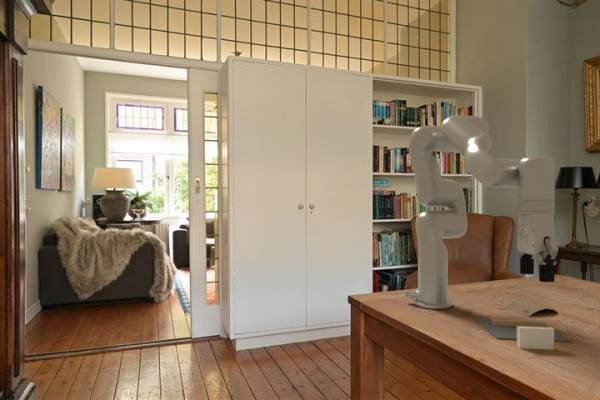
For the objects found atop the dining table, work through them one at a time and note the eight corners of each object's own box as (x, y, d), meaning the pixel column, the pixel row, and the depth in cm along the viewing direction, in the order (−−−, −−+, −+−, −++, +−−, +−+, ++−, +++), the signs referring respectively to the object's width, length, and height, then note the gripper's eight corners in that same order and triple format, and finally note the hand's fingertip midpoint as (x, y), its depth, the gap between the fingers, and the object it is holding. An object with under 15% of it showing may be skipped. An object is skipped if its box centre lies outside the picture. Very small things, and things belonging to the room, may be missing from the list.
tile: (519, 348, 99) (519, 328, 99) (516, 346, 101) (516, 325, 101) (553, 349, 98) (554, 329, 98) (550, 347, 100) (550, 327, 100)
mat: (497, 339, 105) (497, 332, 105) (476, 319, 121) (476, 314, 121) (570, 341, 103) (570, 335, 103) (539, 321, 119) (539, 316, 119)
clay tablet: (533, 306, 138) (533, 298, 138) (562, 314, 129) (562, 305, 129) (501, 310, 133) (501, 302, 133) (528, 319, 124) (528, 310, 124)
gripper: (505, 206, 108) (505, 271, 108) (537, 208, 91) (537, 285, 91) (535, 206, 108) (535, 271, 108) (573, 208, 90) (573, 285, 91)
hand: (536, 277), depth 99 cm, fingers open, 9 cm apart
